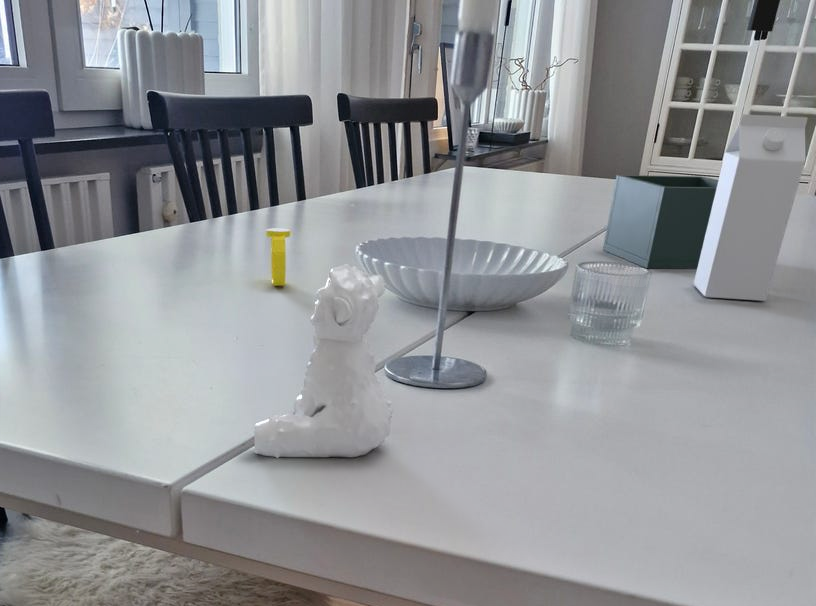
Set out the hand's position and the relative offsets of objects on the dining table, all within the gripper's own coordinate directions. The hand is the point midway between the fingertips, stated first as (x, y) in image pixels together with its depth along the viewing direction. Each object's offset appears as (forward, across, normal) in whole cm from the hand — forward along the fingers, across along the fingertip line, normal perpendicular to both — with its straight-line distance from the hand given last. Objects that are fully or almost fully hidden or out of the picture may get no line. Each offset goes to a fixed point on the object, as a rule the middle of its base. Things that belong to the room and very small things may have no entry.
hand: (796, 31), depth 96 cm
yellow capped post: (+27, -6, -55) cm, 62 cm away
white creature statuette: (+27, +45, -59) cm, 79 cm away
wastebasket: (+27, -22, +4) cm, 35 cm away
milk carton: (+27, 0, 0) cm, 27 cm away
